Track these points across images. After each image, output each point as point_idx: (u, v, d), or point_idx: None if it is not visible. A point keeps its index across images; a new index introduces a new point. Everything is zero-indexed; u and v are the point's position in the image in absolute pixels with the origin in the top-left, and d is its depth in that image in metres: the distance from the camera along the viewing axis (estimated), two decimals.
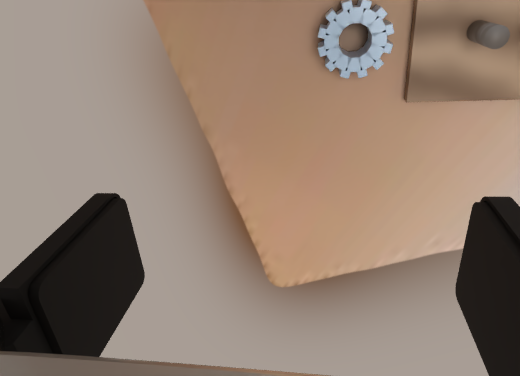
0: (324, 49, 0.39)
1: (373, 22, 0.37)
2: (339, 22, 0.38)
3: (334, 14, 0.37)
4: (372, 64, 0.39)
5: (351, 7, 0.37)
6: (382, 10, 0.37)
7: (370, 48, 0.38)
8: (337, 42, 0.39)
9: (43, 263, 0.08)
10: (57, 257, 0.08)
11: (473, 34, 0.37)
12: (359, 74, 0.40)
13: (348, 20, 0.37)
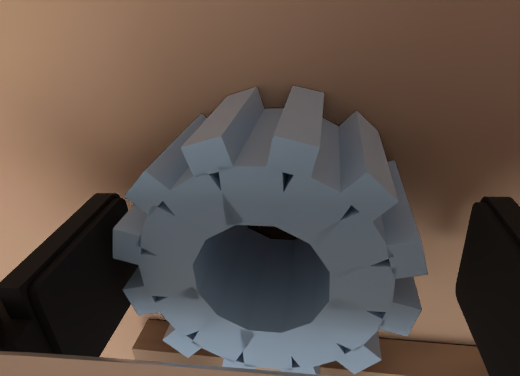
0: (217, 167, 0.08)
1: (327, 337, 0.10)
2: (338, 229, 0.08)
3: (376, 210, 0.08)
4: (178, 329, 0.10)
5: (396, 273, 0.08)
6: (368, 362, 0.10)
7: (234, 325, 0.10)
8: (251, 221, 0.08)
9: (43, 264, 0.08)
10: (57, 257, 0.08)
11: None
12: (136, 292, 0.10)
13: (343, 262, 0.08)
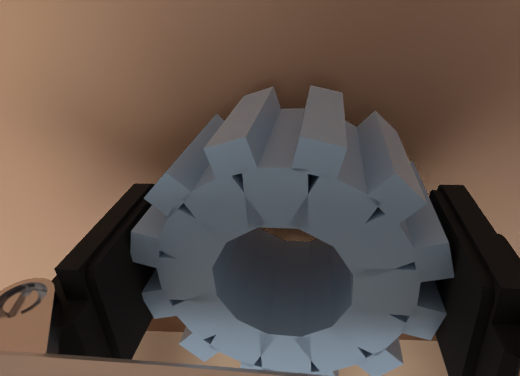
0: (240, 168, 0.08)
1: (348, 341, 0.09)
2: (363, 232, 0.08)
3: (403, 212, 0.08)
4: (196, 333, 0.10)
5: (422, 277, 0.08)
6: (389, 367, 0.10)
7: (252, 329, 0.10)
8: (274, 223, 0.08)
9: (97, 247, 0.08)
10: (108, 242, 0.09)
11: None
12: (153, 295, 0.10)
13: (367, 265, 0.08)
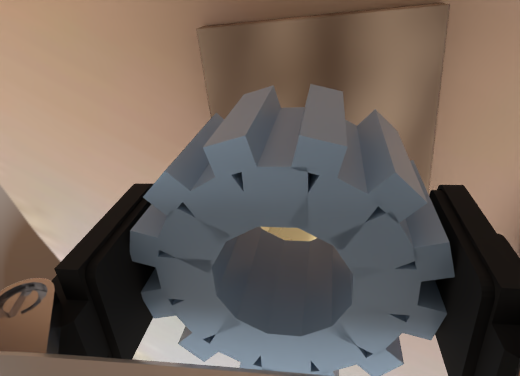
0: (240, 167, 0.08)
1: (348, 341, 0.09)
2: (363, 231, 0.08)
3: (404, 211, 0.08)
4: (195, 332, 0.10)
5: (422, 276, 0.08)
6: (389, 366, 0.10)
7: (252, 329, 0.10)
8: (273, 222, 0.08)
9: (96, 248, 0.08)
10: (108, 242, 0.09)
11: None
12: (152, 295, 0.10)
13: (367, 264, 0.08)
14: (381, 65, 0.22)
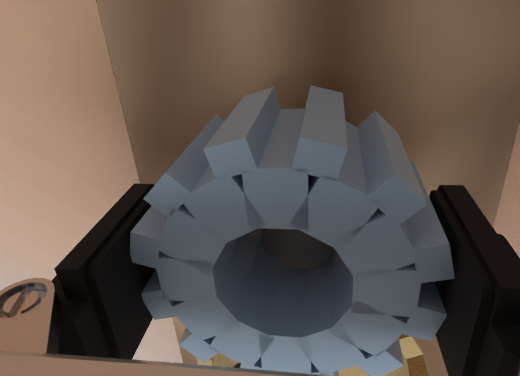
0: (240, 169, 0.08)
1: (349, 342, 0.09)
2: (363, 233, 0.08)
3: (404, 213, 0.08)
4: (195, 334, 0.10)
5: (422, 278, 0.08)
6: (389, 368, 0.10)
7: (252, 330, 0.10)
8: (274, 224, 0.08)
9: (96, 247, 0.08)
10: (108, 242, 0.09)
11: None
12: (153, 296, 0.10)
13: (367, 266, 0.08)
14: (418, 74, 0.13)
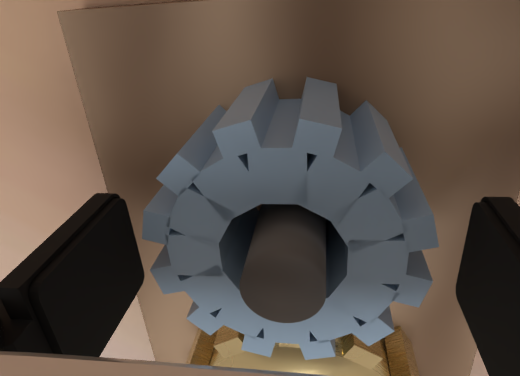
0: (245, 149, 0.09)
1: (344, 311, 0.10)
2: (356, 206, 0.09)
3: (393, 187, 0.08)
4: (202, 307, 0.11)
5: (410, 247, 0.09)
6: (382, 334, 0.10)
7: None
8: (276, 200, 0.09)
9: (43, 263, 0.08)
10: (57, 257, 0.08)
11: None
12: (163, 272, 0.11)
13: (361, 237, 0.09)
14: (419, 95, 0.11)
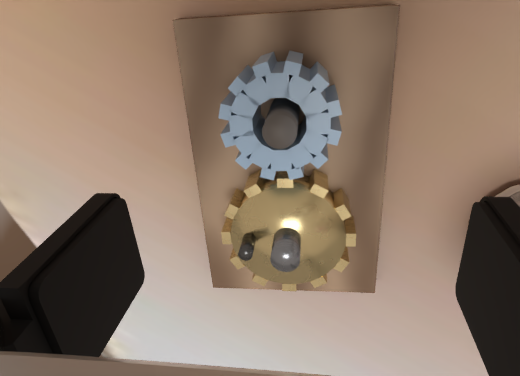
0: (265, 73, 0.22)
1: (306, 150, 0.24)
2: (308, 97, 0.22)
3: (322, 88, 0.22)
4: (243, 153, 0.24)
5: (331, 115, 0.22)
6: (323, 161, 0.24)
7: (267, 148, 0.24)
8: (276, 96, 0.22)
9: (43, 264, 0.08)
10: (57, 257, 0.08)
11: (281, 101, 0.24)
12: (226, 135, 0.24)
13: (311, 112, 0.22)
14: (340, 58, 0.25)
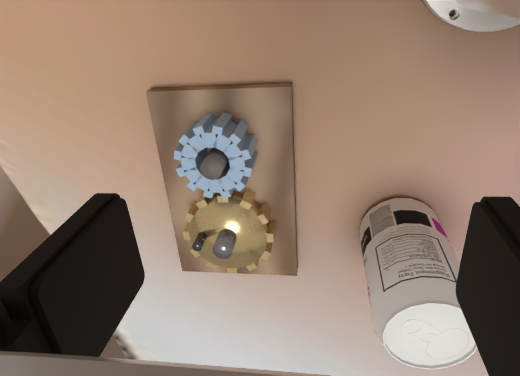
0: (200, 133, 0.34)
1: (231, 179, 0.36)
2: (229, 147, 0.35)
3: (236, 142, 0.34)
4: (191, 181, 0.37)
5: (244, 158, 0.35)
6: (242, 187, 0.36)
7: (206, 178, 0.36)
8: (209, 146, 0.35)
9: (43, 264, 0.08)
10: (57, 257, 0.08)
11: None
12: (179, 169, 0.36)
13: (231, 156, 0.35)
14: (256, 117, 0.37)
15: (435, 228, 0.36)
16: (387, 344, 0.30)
